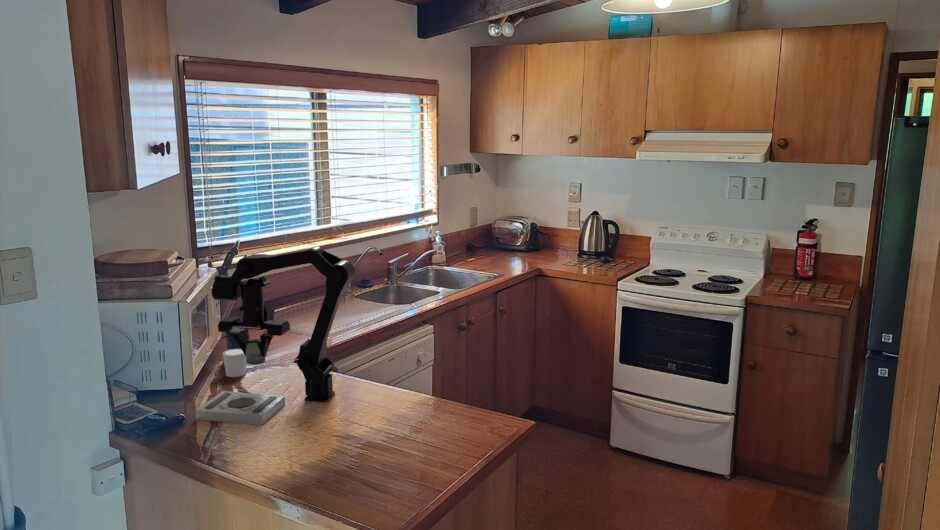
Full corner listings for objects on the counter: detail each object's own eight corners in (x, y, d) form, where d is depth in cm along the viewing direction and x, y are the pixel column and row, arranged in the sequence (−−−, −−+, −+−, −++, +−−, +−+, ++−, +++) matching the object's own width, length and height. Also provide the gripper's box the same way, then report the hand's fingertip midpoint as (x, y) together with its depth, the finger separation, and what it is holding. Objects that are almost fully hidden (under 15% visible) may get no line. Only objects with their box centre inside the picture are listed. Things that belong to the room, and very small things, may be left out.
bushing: (268, 359, 189) (267, 338, 188) (259, 365, 184) (258, 344, 183) (252, 358, 190) (250, 337, 189) (243, 364, 185) (241, 342, 184)
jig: (285, 404, 181) (284, 395, 181) (261, 425, 169) (261, 414, 168) (223, 399, 184) (222, 390, 184) (196, 419, 172) (195, 408, 171)
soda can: (254, 357, 219) (252, 322, 216) (245, 365, 212) (242, 328, 209) (233, 356, 219) (231, 321, 217) (223, 364, 212) (221, 327, 210)
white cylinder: (223, 379, 200) (221, 356, 198) (224, 371, 206) (223, 349, 205) (247, 376, 202) (246, 354, 200) (248, 369, 208) (247, 347, 207)
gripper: (297, 296, 190) (299, 349, 193) (236, 292, 193) (239, 344, 196) (279, 305, 179) (282, 361, 182) (214, 302, 182) (218, 357, 185)
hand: (255, 355), depth 187 cm, fingers closed on bushing, 5 cm apart
